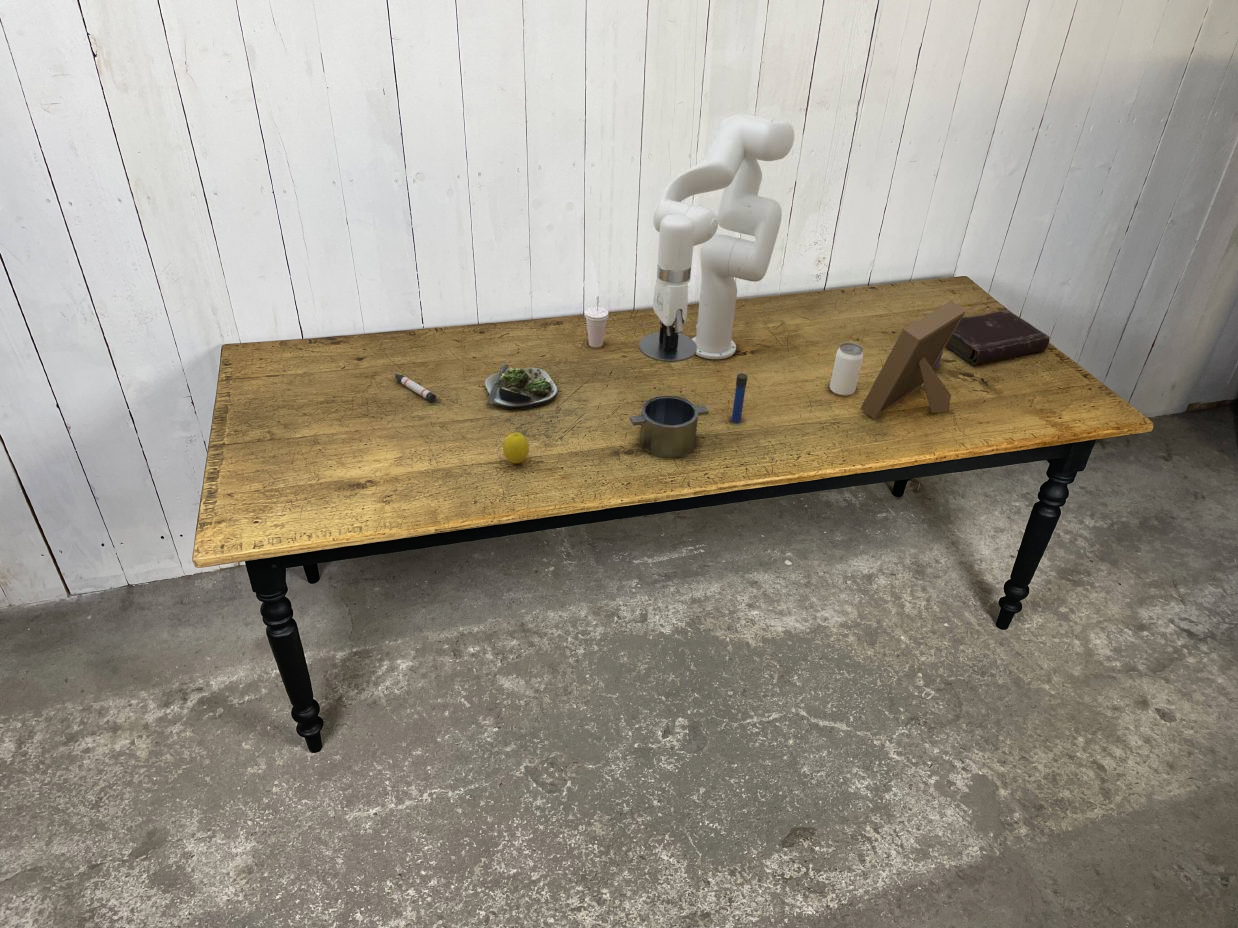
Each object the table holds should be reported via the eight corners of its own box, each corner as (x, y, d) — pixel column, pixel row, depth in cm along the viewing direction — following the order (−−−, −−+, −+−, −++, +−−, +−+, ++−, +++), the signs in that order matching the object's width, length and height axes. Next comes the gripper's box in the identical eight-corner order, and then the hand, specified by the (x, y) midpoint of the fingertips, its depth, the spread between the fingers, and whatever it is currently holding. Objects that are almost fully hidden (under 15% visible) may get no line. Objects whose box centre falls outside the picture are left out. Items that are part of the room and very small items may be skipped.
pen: (729, 418, 207) (735, 374, 199) (738, 417, 208) (744, 372, 200) (733, 424, 205) (739, 379, 198) (742, 422, 206) (749, 377, 198)
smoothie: (611, 341, 236) (612, 294, 227) (602, 352, 231) (604, 304, 222) (589, 336, 237) (589, 289, 229) (580, 347, 232) (581, 299, 224)
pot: (621, 432, 201) (623, 401, 196) (693, 421, 205) (696, 391, 200) (639, 463, 191) (640, 432, 186) (714, 451, 196) (717, 420, 191)
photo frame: (859, 412, 211) (881, 320, 196) (905, 381, 224) (929, 292, 209) (913, 438, 203) (940, 344, 188) (958, 404, 215) (987, 314, 200)
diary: (1046, 352, 238) (1052, 336, 235) (974, 368, 230) (980, 351, 227) (998, 323, 252) (1003, 307, 249) (929, 336, 244) (934, 320, 241)
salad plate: (473, 375, 219) (472, 359, 216) (541, 364, 224) (541, 349, 221) (491, 415, 204) (490, 399, 202) (563, 403, 210) (563, 387, 207)
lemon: (504, 455, 192) (502, 426, 187) (529, 455, 192) (528, 425, 188) (503, 471, 188) (501, 441, 183) (529, 470, 188) (528, 440, 183)
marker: (436, 400, 209) (435, 393, 208) (430, 403, 208) (429, 396, 207) (398, 376, 217) (397, 369, 216) (392, 379, 216) (390, 372, 215)
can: (855, 398, 216) (865, 356, 209) (829, 394, 217) (837, 352, 210) (854, 385, 221) (864, 343, 214) (829, 381, 222) (838, 340, 215)
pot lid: (631, 339, 206) (632, 318, 203) (684, 333, 210) (686, 312, 206) (649, 367, 196) (651, 345, 193) (705, 360, 200) (707, 338, 196)
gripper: (645, 259, 196) (641, 331, 207) (670, 289, 184) (664, 364, 195) (676, 256, 198) (671, 328, 209) (703, 285, 186) (695, 360, 197)
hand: (668, 345), depth 202 cm, fingers closed on pot lid, 2 cm apart
